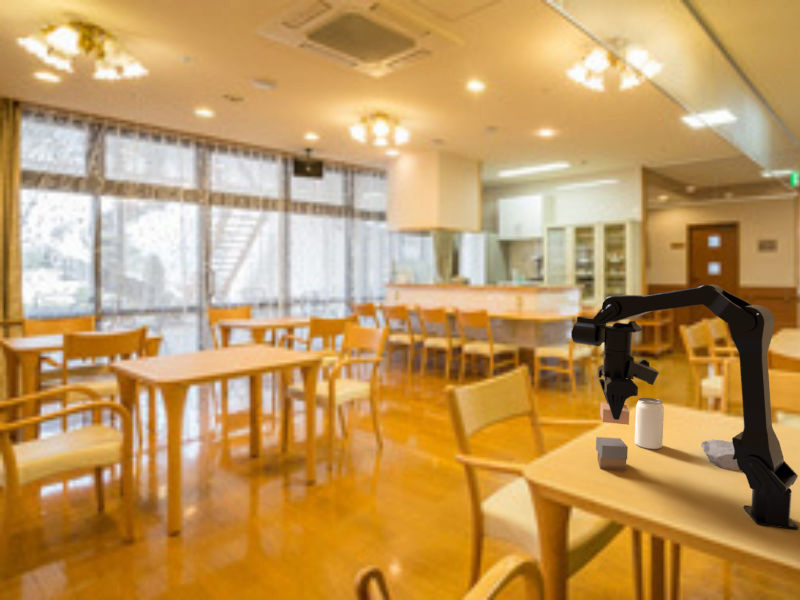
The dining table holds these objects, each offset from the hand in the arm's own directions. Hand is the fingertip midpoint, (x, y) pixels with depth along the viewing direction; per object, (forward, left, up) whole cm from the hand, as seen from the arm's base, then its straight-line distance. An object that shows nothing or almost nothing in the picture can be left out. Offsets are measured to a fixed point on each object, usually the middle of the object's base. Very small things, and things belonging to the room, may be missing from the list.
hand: (614, 415), depth 112 cm
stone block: (+12, -27, -13) cm, 32 cm away
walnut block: (0, 0, -12) cm, 12 cm away
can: (+17, -11, -12) cm, 24 cm away
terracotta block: (0, 0, -1) cm, 1 cm away
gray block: (0, 0, -9) cm, 9 cm away
